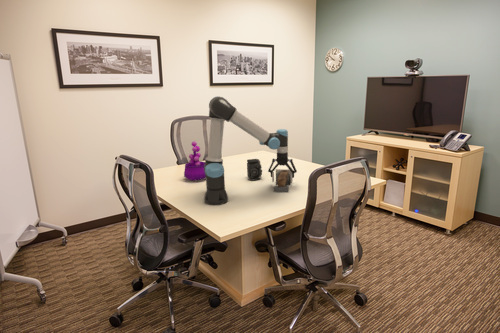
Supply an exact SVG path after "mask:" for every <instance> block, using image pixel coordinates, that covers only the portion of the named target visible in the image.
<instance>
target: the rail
mask: <svg viewBox="0 0 500 333" xmlns="http://www.w3.org/2000/svg"><path fill="white" fill-rule="evenodd" d="M277 180H278V185H277V186H282V187H284V186H286V185H285V184H286V182H287V172H281V173H280V175H279V177H278V178H277Z"/></svg>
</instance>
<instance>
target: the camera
mask: <svg viewBox="0 0 500 333" xmlns="http://www.w3.org/2000/svg"><path fill="white" fill-rule="evenodd" d="M246 161H247V162H246V168H247V169H246V170H247V171H246V174H247V175H246V176H247V178H248V180H249V181H255V180H256V181H258V180H260V178H261V177H262V176H263V169H262V168H263V167H262V164H261V160H260V159H258V158H252V159H247V160H246Z"/></svg>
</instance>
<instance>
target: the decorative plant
mask: <svg viewBox="0 0 500 333" xmlns="http://www.w3.org/2000/svg"><path fill="white" fill-rule="evenodd" d="M197 144H198V142H196V141H192V142H191V146H192V148H191V150H192V152H193V153H191V154H189V155H188V158H189V161H188V162H186V163H185V164H184V172H183V177H185V179H187V180H189V181H195V182H197V181H202V180H204V179H206V176H205V173H204V165H205V161H200V158H201V157H202V155H201V153H200V151H201V147H200V146H198V145H197Z"/></svg>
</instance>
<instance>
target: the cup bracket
mask: <svg viewBox="0 0 500 333" xmlns="http://www.w3.org/2000/svg"><path fill="white" fill-rule="evenodd" d="M281 172H287V182H286V184H285V186H291V184H292V183H291V173H292V172H291V171H290V170H289V169H288V168H287V169H283V168H282V169H281V168H279V169H278V168H276V169H275V183H276V184H275V186H278V180H277V178H278V177H279V175H280V173H281Z"/></svg>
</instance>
